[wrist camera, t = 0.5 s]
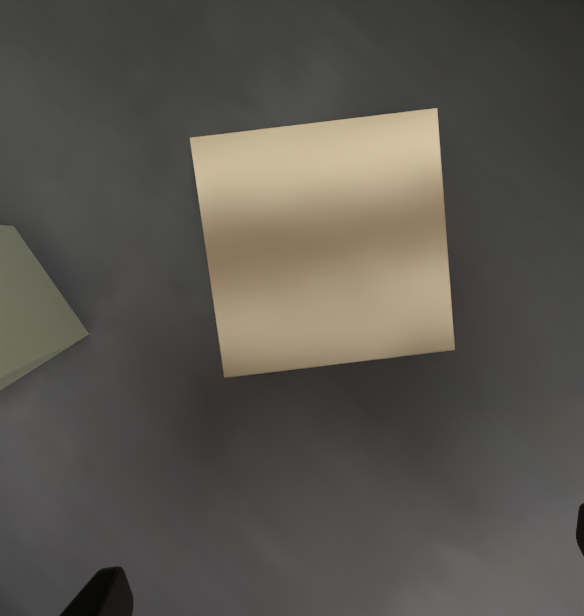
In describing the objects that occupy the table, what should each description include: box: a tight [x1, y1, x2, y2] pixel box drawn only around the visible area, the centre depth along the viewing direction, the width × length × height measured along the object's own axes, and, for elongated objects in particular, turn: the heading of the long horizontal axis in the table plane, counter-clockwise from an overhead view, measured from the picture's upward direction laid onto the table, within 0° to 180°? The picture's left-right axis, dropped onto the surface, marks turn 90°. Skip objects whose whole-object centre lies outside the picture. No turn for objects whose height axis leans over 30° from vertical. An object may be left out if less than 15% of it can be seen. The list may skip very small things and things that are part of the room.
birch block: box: [190, 108, 455, 378], centre depth 21 cm, size 10×10×3 cm
